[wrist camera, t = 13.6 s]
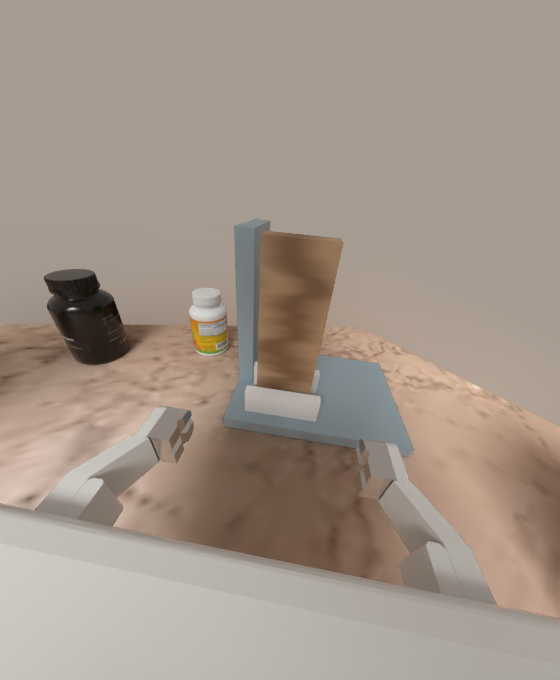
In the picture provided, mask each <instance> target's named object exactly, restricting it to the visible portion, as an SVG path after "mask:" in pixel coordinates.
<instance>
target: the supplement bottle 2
mask: <svg viewBox="0 0 560 680" xmlns="http://www.w3.org/2000/svg"><path fill="white" fill-rule="evenodd" d="M192 301H193V305H192V306H191V307H190V309H189V316H190V321H191V328H192V334H193V340H194V346H195V349H196V351H197V352H198V353H199V354H201V355H203V356H216V355H219V354H222V353H223V352H225V351H226V350H227V349H228V346H229V343H228V327H227V312H226V308H225V306H224V305H223V304H222V303H220V302H221V293H220V291H219V290H218V289H215V288H199V289H196V290H194V291H193V292H192Z"/></svg>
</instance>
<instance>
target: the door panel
mask: <svg viewBox="0 0 560 680" xmlns="http://www.w3.org/2000/svg"><path fill="white" fill-rule="evenodd" d="M342 247H343V242H342V240H341V239H337V238H329V237H320V236H310V235H301V234H291V233H282V232H272V231H265V232H263V233H262V234H261V254H260V289H259V324H258V360H257V387H263V388H269V389H276V390H282V391H289V392H295V393H302V394H308V395H310V392H311V387H312V383H313V378H314V373H315V369H316V364H317V360H318V355H319V351H320V346H321V342H322V337H323V333H324V328H325V324H326V318H327V314H328V310H329V306H330V301H331V297H332V292H333V287H334V283H335V278H336V274H337V269H338V265H339V260H340V255H341V251H342Z"/></svg>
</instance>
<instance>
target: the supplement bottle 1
mask: <svg viewBox="0 0 560 680" xmlns="http://www.w3.org/2000/svg"><path fill="white" fill-rule="evenodd" d="M44 280H45V282H46V284H47V286H48V289H49V291H50V293H51V294H54V296H53V297H51V298H50V299H49V301H48V304H47V309H48V311H49V313H50V315H51V316H52V318H53V320H54V322H55V324H56V326H57V328H58V329H59V331H60V333H61V335H62V337H63V339H64V340H65V342H66V344H67V346H68V348H69V350H70V351H71V353H72V355H73V357H74V358H75V359H76V360H77V361H78V362H80V363H82V364H87V365H98V364H104V363H107V362H111V361H113V360H115V359H117V358H119V357H121V356H122V355H124V354H125V353H126V352H127V350H128V348H129V341H128V338H127V335H126V332H125V329H124V327H123V324H122V321H121V318H120V315H119V312H118V310H117V307H116V304H115V301H114V299H113V297H112V295H111V294H109V293H108V292H106V291H104V290H102V289H99V287H100V283H99V282H98V280H97V278H96V275H95V273H94V272H93V271H91V270H85V269H69V270H61V271H55V272H52V273H49V274H47V275H45V276H44Z"/></svg>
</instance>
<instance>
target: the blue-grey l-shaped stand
mask: <svg viewBox="0 0 560 680" xmlns="http://www.w3.org/2000/svg"><path fill="white" fill-rule="evenodd" d="M265 231H270V221H268V220H259V219H254V220H251V221H248V222H245V223H242V224H239V225H235V226H234V234H235V267H236V293H237V294H236V295H237V328H238V359H239V381H238V384H237V386H236V389H235V391H234V393H233V396H232V398H231V401H230V403H229V405H228V408H227V410H226V413H225V415H224V417H223V420H224V427H230V428H236V429H242V430H248V431H254V432H260V433H266V434H272V435H277V436H283V437H289V438H295V439H301V440H307V441H313V442H319V443H325V444H331V445H337V446H343V447H349V448H355V449H356V448H357V447H359V443H358V442H359V440H360V439H362V438H363V439H369V440H376V441H383V442H387V443H394V444H396V445H397V446H398V448H399V451H400V454H401V456H403V457H409V455H410V454H411V453H412V451H413V450H414V449H413V446H412V444H411V441H410V439H409V436H408V434H407V431H406V429H405V426H404V424H403V421H402V419H401V416H400V414H399V411H398V409H397V406H396V404H395V401H394V399H393V396H392V394H391V391H390V389H389V386H388V384H387V381H386V379H385V376H384V374H383V371H382V369H381V366H380V364H379V363H372V362H365V361H358V360H351V359H344V358H337V357H330V356H323V355H318V360H317V364H316V369H315V373H314V378H313V383H312V387H311V392H310V395H308V394H302V393H295V392H289V391H282V390H276V389H269V388H263V387H257V360H258V324H259V289H260V254H261V234H262V233H263V232H265Z"/></svg>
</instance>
